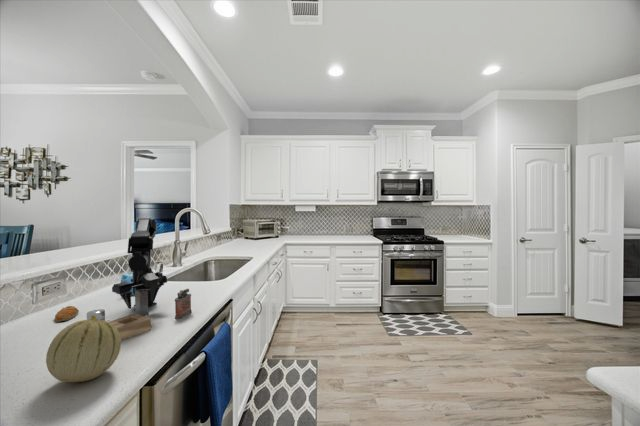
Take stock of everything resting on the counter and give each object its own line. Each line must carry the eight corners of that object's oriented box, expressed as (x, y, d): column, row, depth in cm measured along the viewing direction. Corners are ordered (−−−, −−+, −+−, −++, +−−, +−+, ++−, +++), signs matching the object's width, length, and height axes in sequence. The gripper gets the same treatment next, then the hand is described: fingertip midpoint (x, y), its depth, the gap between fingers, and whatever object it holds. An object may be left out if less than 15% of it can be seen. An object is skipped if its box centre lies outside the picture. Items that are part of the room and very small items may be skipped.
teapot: (153, 286, 161) (153, 266, 161) (158, 292, 149) (157, 271, 149) (120, 291, 152) (119, 270, 152) (122, 298, 140) (121, 275, 140)
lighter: (180, 319, 113) (180, 293, 113) (172, 318, 114) (172, 292, 113) (193, 311, 121) (193, 287, 121) (186, 311, 121) (185, 287, 121)
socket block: (104, 334, 99) (103, 323, 99) (134, 324, 108) (134, 313, 108) (120, 340, 95) (120, 328, 95) (150, 329, 103) (150, 318, 103)
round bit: (84, 329, 104) (83, 312, 104) (100, 324, 108) (100, 308, 108) (91, 332, 101) (91, 315, 101) (108, 327, 106) (107, 310, 106)
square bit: (135, 316, 116) (134, 291, 116) (143, 313, 119) (143, 289, 119) (140, 317, 115) (139, 292, 115) (148, 314, 118) (147, 290, 117)
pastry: (73, 321, 112) (73, 311, 112) (50, 324, 109) (50, 314, 109) (79, 313, 121) (79, 304, 121) (58, 316, 117) (57, 307, 117)
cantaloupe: (34, 403, 64) (32, 336, 64) (61, 369, 78) (60, 313, 78) (114, 386, 70) (113, 324, 70) (127, 358, 84) (125, 306, 84)
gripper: (127, 272, 105) (128, 316, 105) (175, 263, 121) (175, 301, 121) (110, 269, 110) (111, 311, 110) (158, 261, 126) (159, 297, 127)
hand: (141, 304), depth 117 cm, fingers open, 9 cm apart
